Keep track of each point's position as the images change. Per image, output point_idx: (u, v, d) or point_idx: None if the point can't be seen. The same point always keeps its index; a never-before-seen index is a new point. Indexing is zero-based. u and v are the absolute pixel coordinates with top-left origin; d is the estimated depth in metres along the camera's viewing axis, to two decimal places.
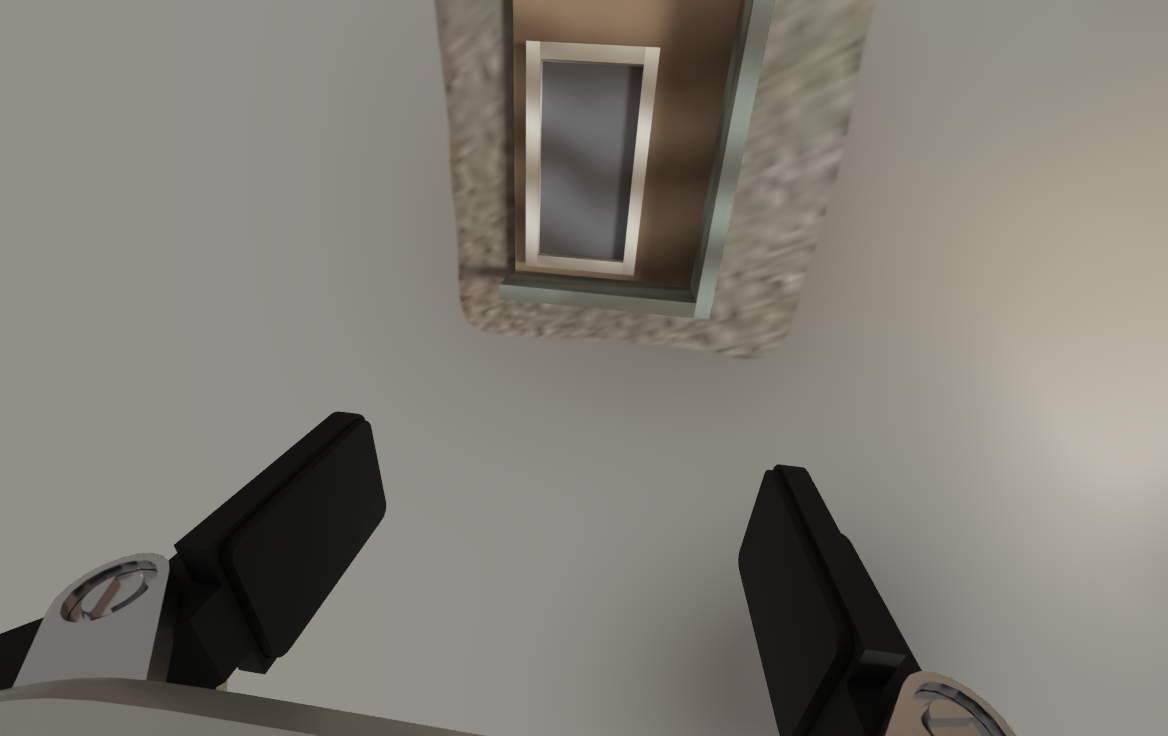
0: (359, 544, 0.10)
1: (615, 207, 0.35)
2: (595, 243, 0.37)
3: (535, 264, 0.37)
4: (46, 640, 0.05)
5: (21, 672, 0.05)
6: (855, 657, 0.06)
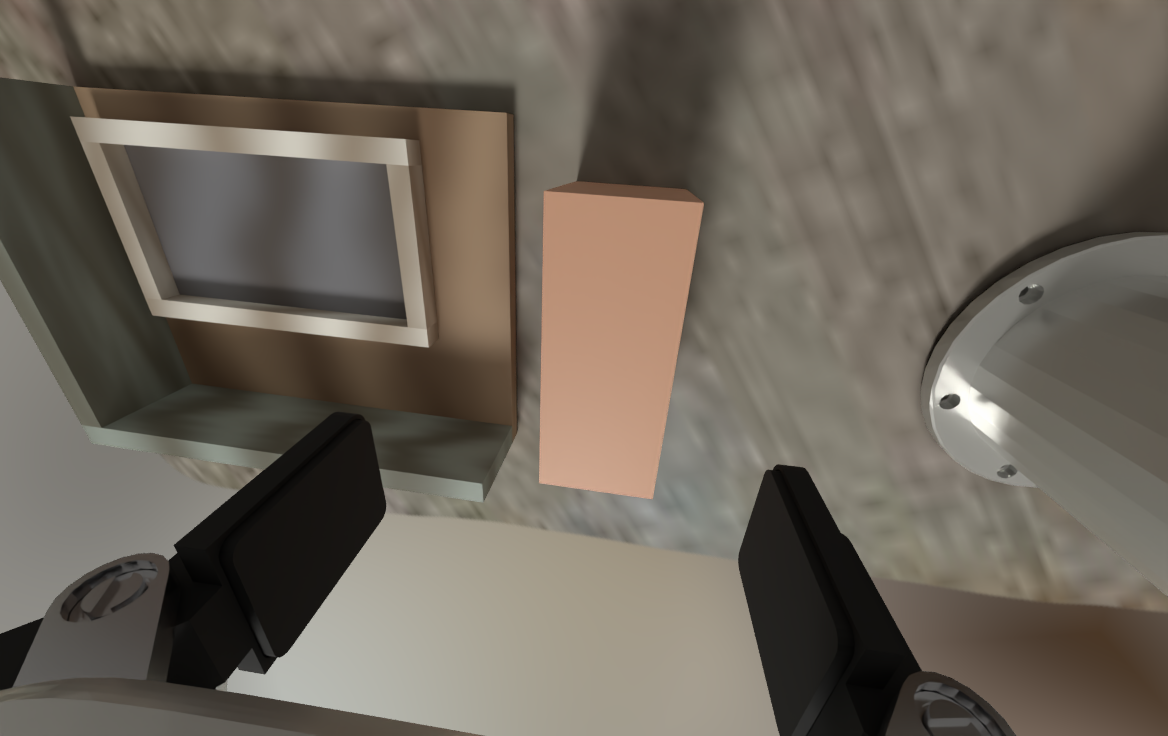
0: (359, 544, 0.10)
1: (243, 281, 0.23)
2: (182, 249, 0.23)
3: (82, 138, 0.20)
4: (45, 640, 0.05)
5: (21, 672, 0.05)
6: (855, 657, 0.06)
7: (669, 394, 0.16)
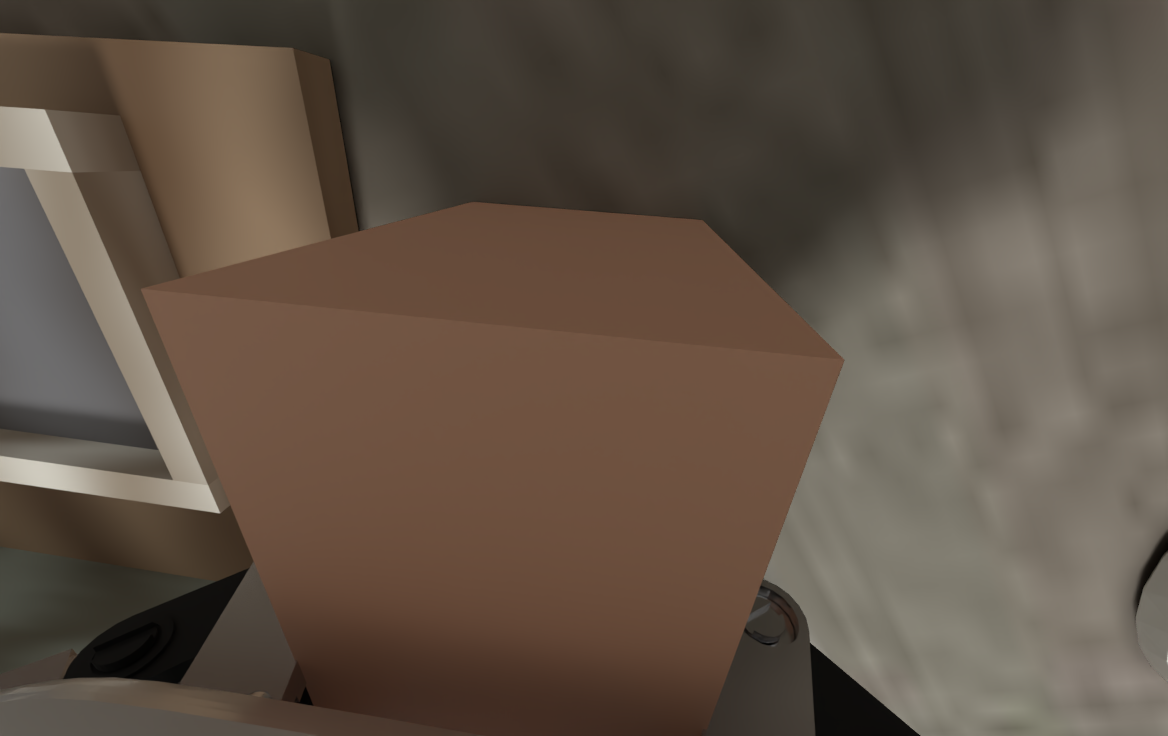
0: None
1: None
2: None
3: None
4: (253, 575, 0.06)
5: (229, 603, 0.06)
6: None
7: None
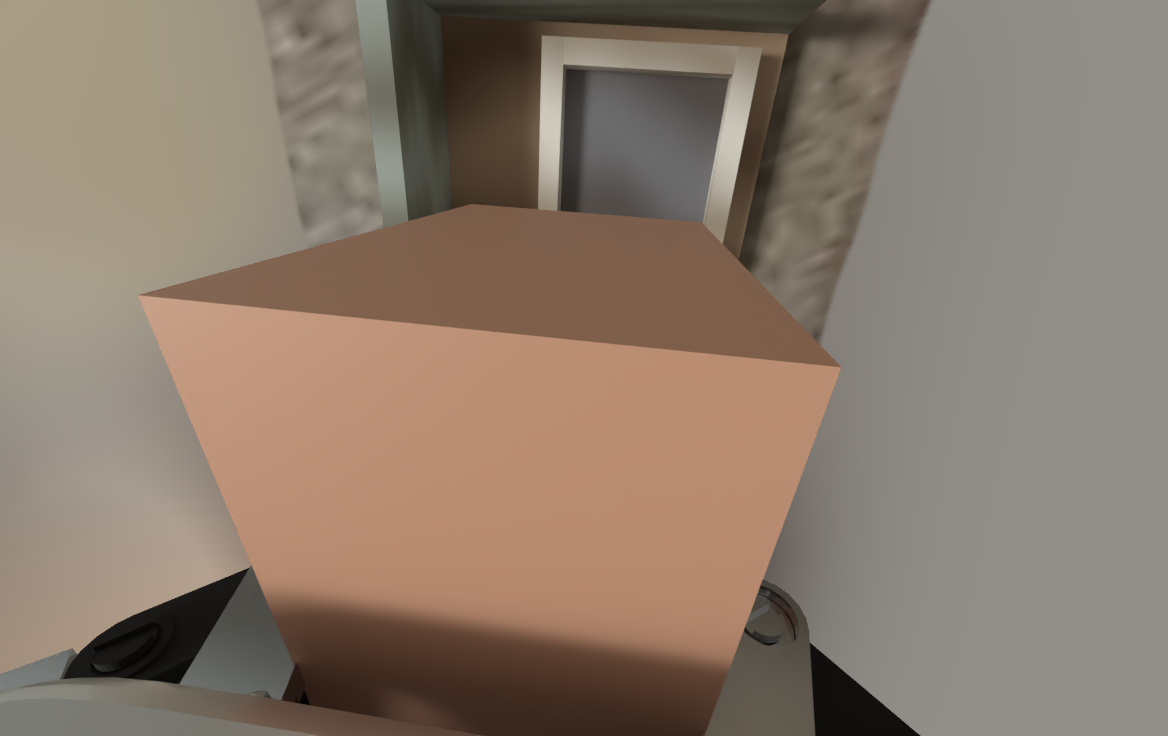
0: None
1: (584, 170, 0.22)
2: (618, 102, 0.20)
3: (740, 51, 0.18)
4: (254, 575, 0.06)
5: (229, 603, 0.06)
6: None
7: None
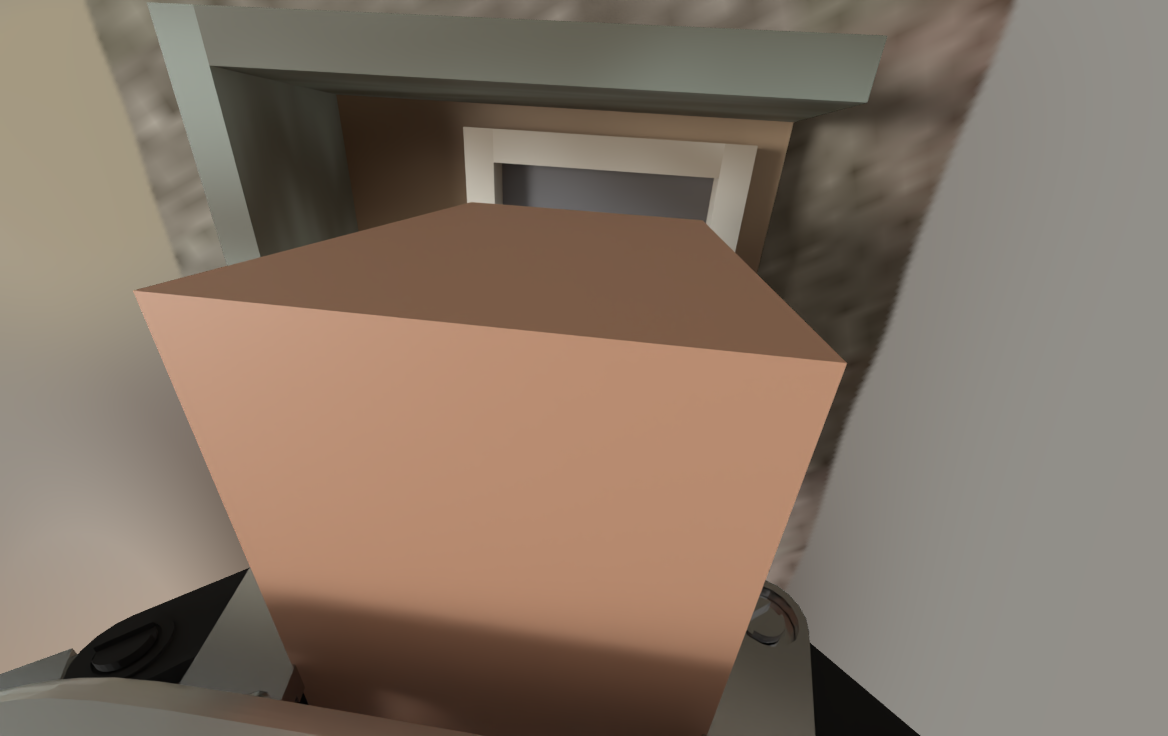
0: None
1: None
2: (571, 204, 0.16)
3: (728, 149, 0.13)
4: (253, 575, 0.06)
5: (229, 603, 0.06)
6: None
7: None
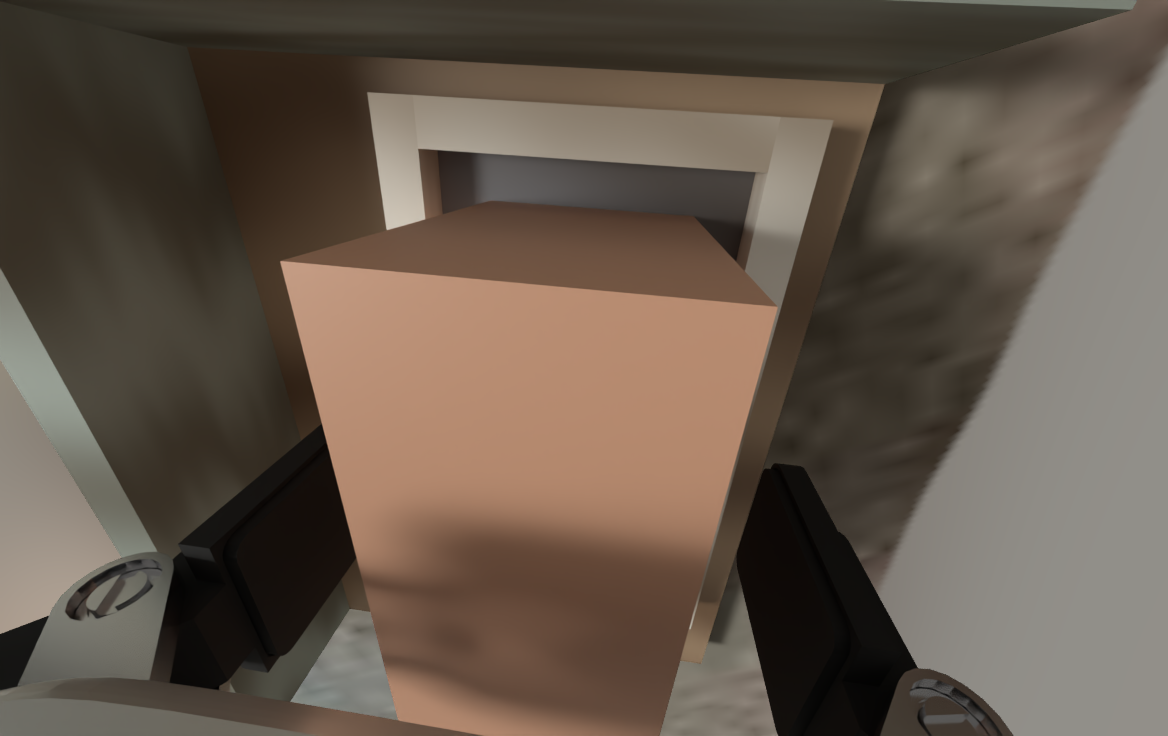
0: None
1: None
2: None
3: (784, 127, 0.08)
4: (51, 638, 0.05)
5: (27, 670, 0.05)
6: (851, 654, 0.06)
7: (666, 698, 0.07)
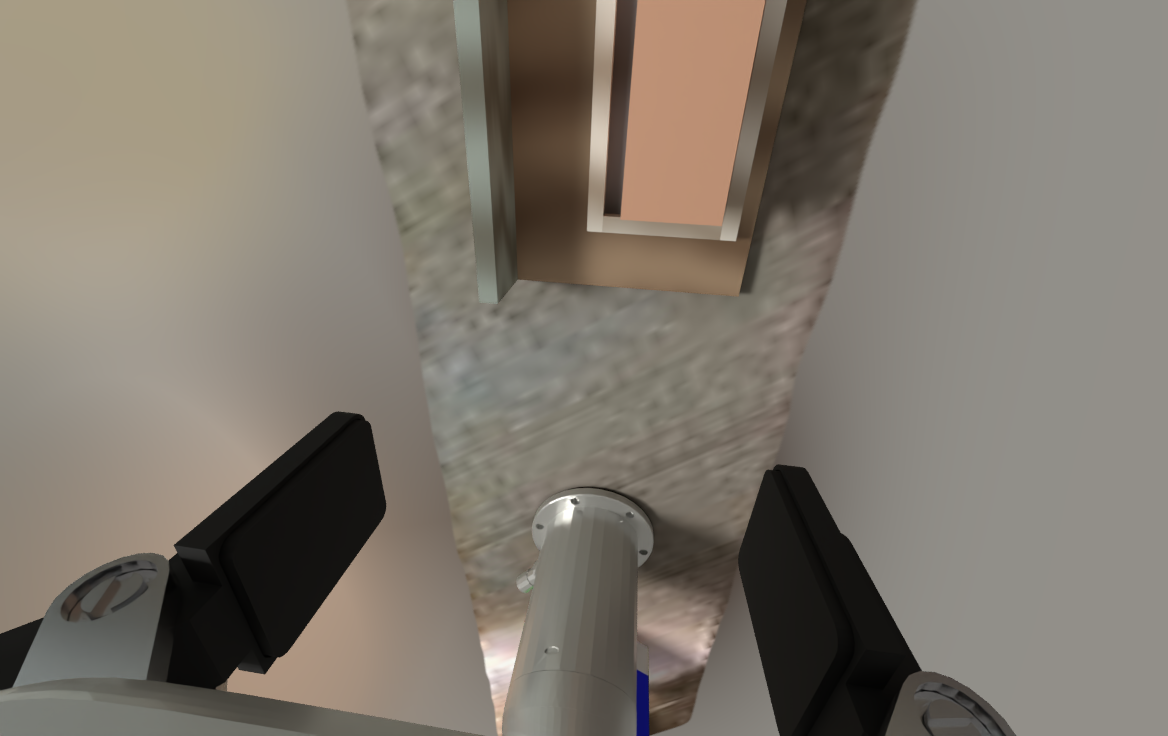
0: (359, 544, 0.10)
1: None
2: None
3: None
4: (46, 639, 0.05)
5: (21, 672, 0.05)
6: (855, 657, 0.06)
7: (744, 101, 0.18)
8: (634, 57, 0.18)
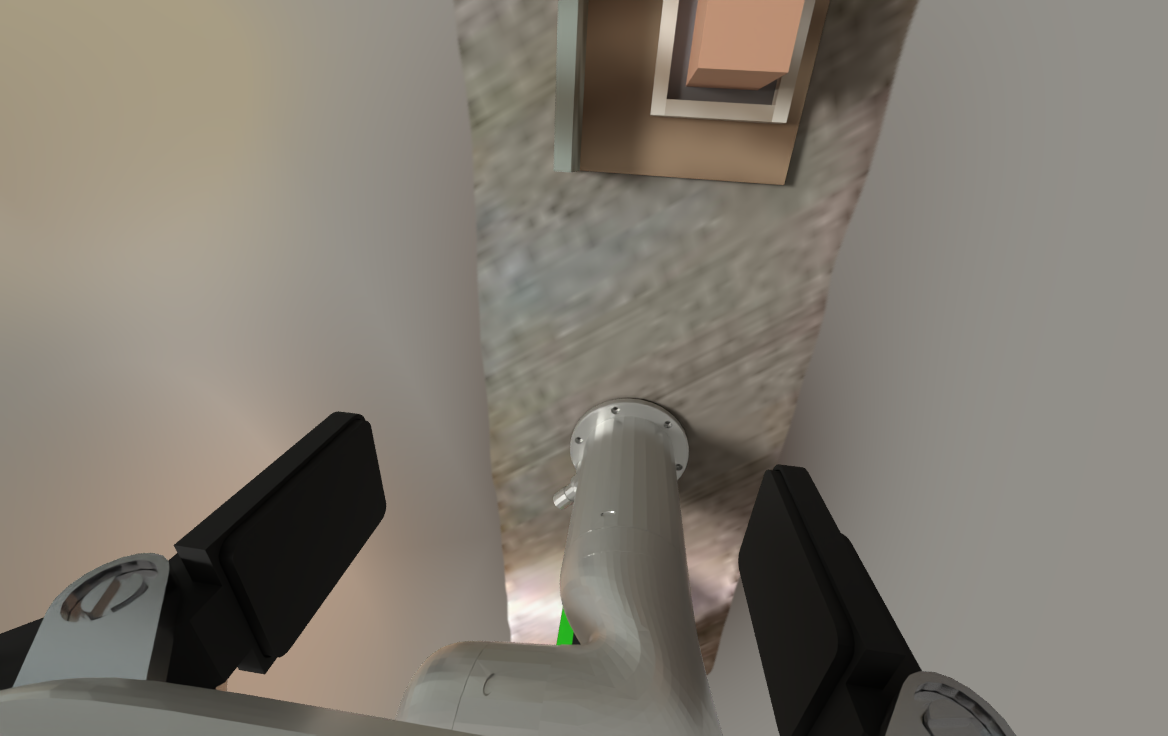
0: (359, 544, 0.10)
1: None
2: None
3: None
4: (45, 640, 0.05)
5: (21, 672, 0.05)
6: (855, 657, 0.06)
7: None
8: None
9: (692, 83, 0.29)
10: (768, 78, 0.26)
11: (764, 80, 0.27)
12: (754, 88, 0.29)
